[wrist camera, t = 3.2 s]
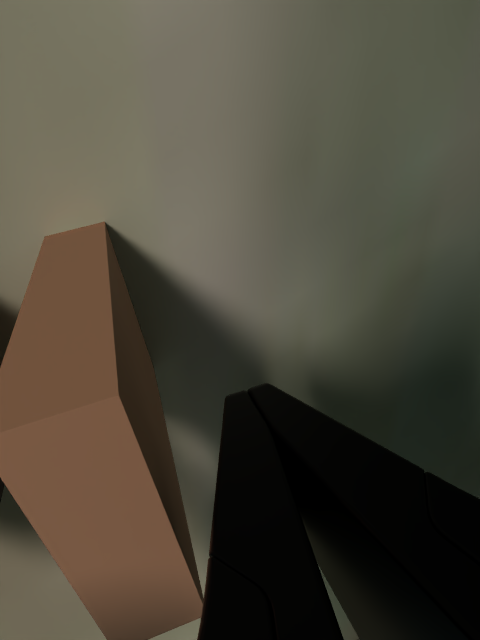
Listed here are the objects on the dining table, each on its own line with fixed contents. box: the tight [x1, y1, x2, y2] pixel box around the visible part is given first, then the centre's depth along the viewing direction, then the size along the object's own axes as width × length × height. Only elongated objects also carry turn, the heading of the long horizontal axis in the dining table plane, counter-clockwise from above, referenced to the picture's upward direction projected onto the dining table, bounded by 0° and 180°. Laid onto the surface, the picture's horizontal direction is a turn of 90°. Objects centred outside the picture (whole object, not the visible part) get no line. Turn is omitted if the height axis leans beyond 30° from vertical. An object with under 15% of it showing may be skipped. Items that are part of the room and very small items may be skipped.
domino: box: [0, 222, 204, 640], centre depth 10 cm, size 2×5×8 cm, turn 10°
